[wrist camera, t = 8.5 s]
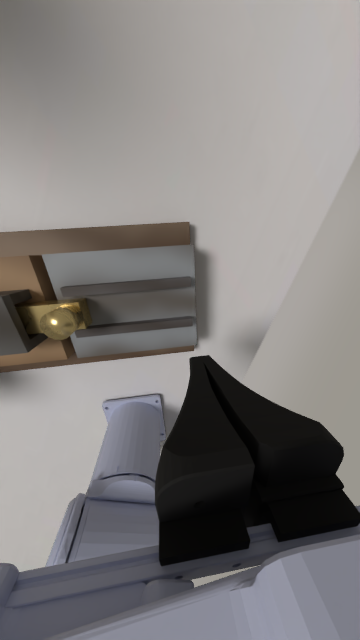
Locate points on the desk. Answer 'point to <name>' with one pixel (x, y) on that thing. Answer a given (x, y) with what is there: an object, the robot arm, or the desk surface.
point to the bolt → (55, 317)
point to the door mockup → (99, 292)
